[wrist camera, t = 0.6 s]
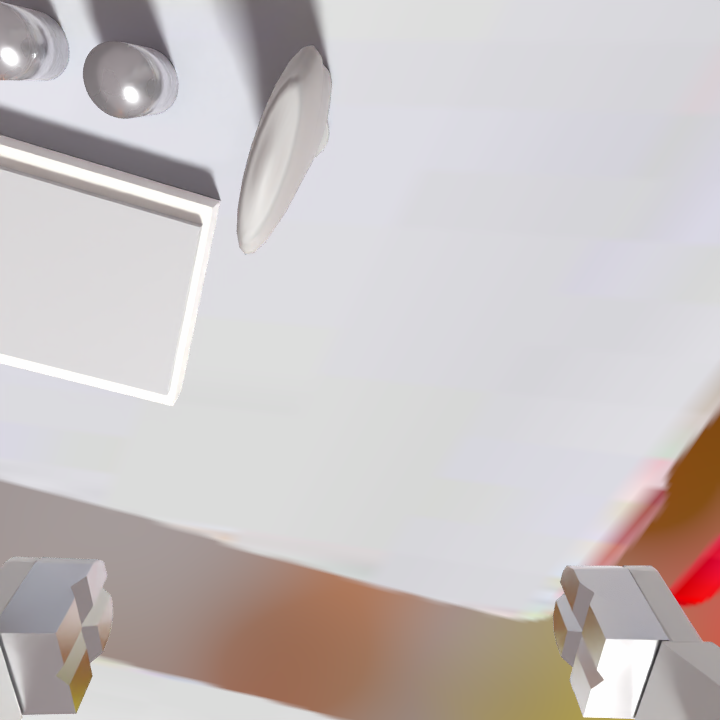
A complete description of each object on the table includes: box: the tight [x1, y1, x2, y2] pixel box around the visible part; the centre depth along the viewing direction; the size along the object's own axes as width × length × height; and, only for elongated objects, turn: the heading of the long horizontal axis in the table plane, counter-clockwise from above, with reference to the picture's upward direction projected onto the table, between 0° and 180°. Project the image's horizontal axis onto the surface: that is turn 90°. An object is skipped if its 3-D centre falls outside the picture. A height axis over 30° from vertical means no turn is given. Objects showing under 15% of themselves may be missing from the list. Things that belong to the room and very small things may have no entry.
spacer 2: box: [83, 41, 178, 119], centre depth 42 cm, size 5×5×6 cm
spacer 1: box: [0, 2, 69, 81], centre depth 41 cm, size 5×5×6 cm
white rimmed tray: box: [0, 135, 221, 406], centre depth 49 cm, size 18×22×4 cm
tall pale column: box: [237, 45, 332, 255], centre depth 36 cm, size 11×4×22 cm, turn 158°
